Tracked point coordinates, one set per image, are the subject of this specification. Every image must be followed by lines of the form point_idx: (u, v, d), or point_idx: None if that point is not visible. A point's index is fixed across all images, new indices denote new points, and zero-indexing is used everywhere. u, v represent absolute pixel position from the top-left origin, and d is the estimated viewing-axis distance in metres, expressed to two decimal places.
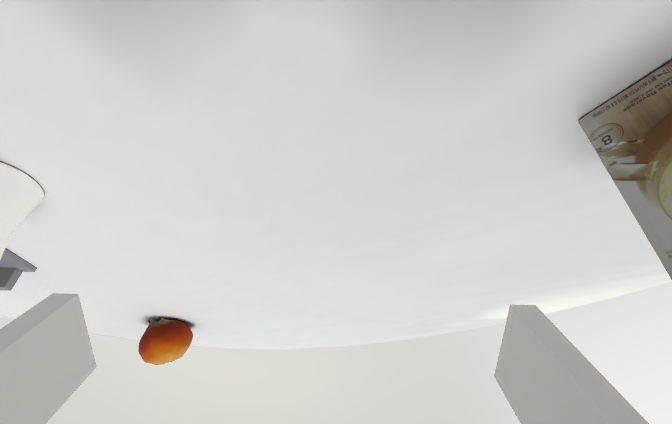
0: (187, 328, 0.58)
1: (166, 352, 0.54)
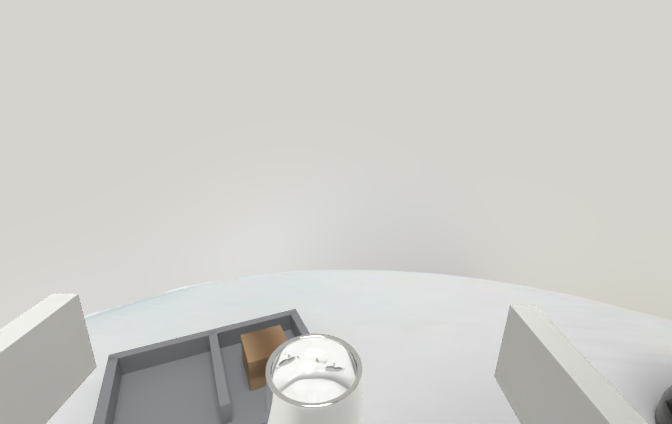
0: None
1: None
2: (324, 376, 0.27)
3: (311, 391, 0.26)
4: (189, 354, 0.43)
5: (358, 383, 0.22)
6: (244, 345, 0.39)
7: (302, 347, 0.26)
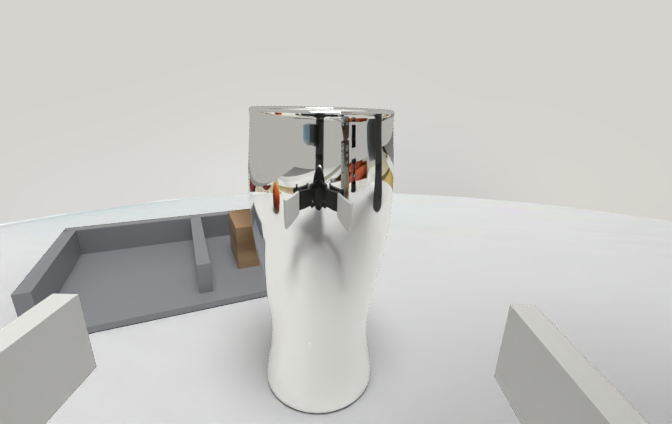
0: None
1: None
2: None
3: None
4: (167, 240, 0.35)
5: (390, 112, 0.14)
6: (231, 217, 0.32)
7: None
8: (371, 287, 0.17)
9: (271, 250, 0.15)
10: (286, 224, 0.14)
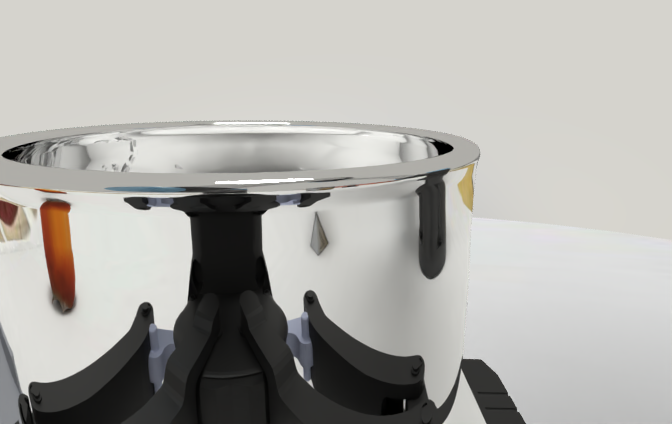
0: None
1: None
2: None
3: None
4: None
5: (477, 152, 0.04)
6: None
7: (242, 164, 0.08)
8: None
9: None
10: None
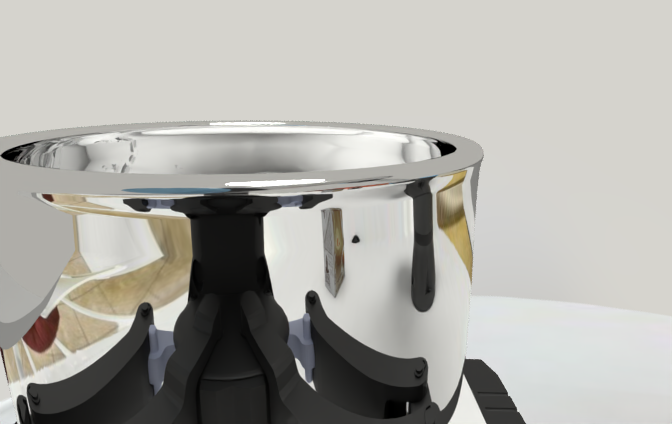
0: None
1: None
2: None
3: None
4: None
5: (481, 151, 0.04)
6: None
7: (242, 165, 0.08)
8: None
9: None
10: None
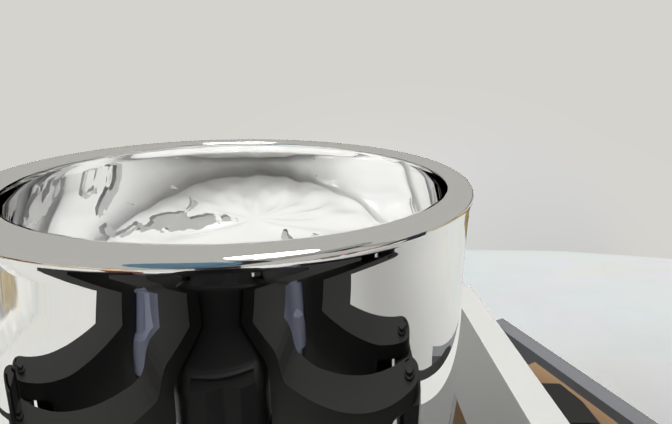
0: None
1: None
2: None
3: None
4: None
5: (471, 197, 0.04)
6: None
7: (237, 183, 0.08)
8: None
9: None
10: None
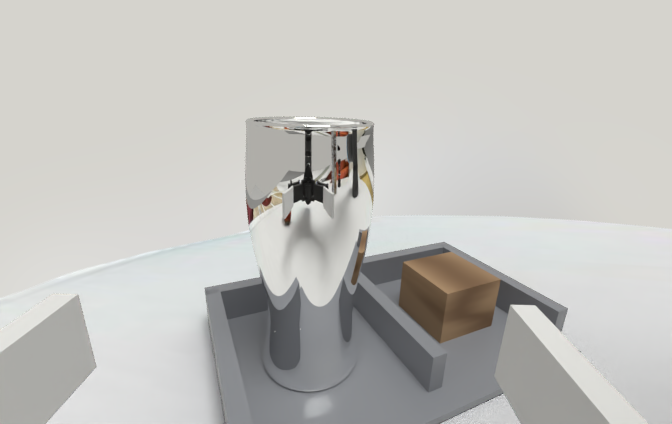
0: None
1: None
2: None
3: None
4: None
5: (369, 124, 0.16)
6: (419, 272, 0.25)
7: None
8: (355, 278, 0.19)
9: (266, 245, 0.17)
10: (279, 222, 0.16)
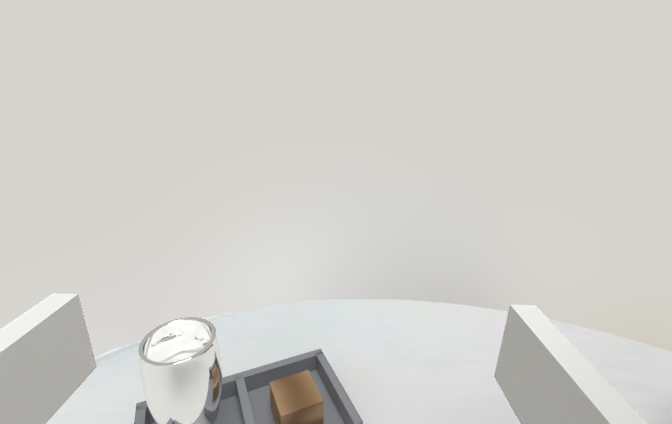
0: None
1: None
2: None
3: None
4: None
5: (204, 350, 0.30)
6: (274, 394, 0.39)
7: (181, 327, 0.34)
8: (209, 421, 0.33)
9: (151, 412, 0.31)
10: (154, 405, 0.30)
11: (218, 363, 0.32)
